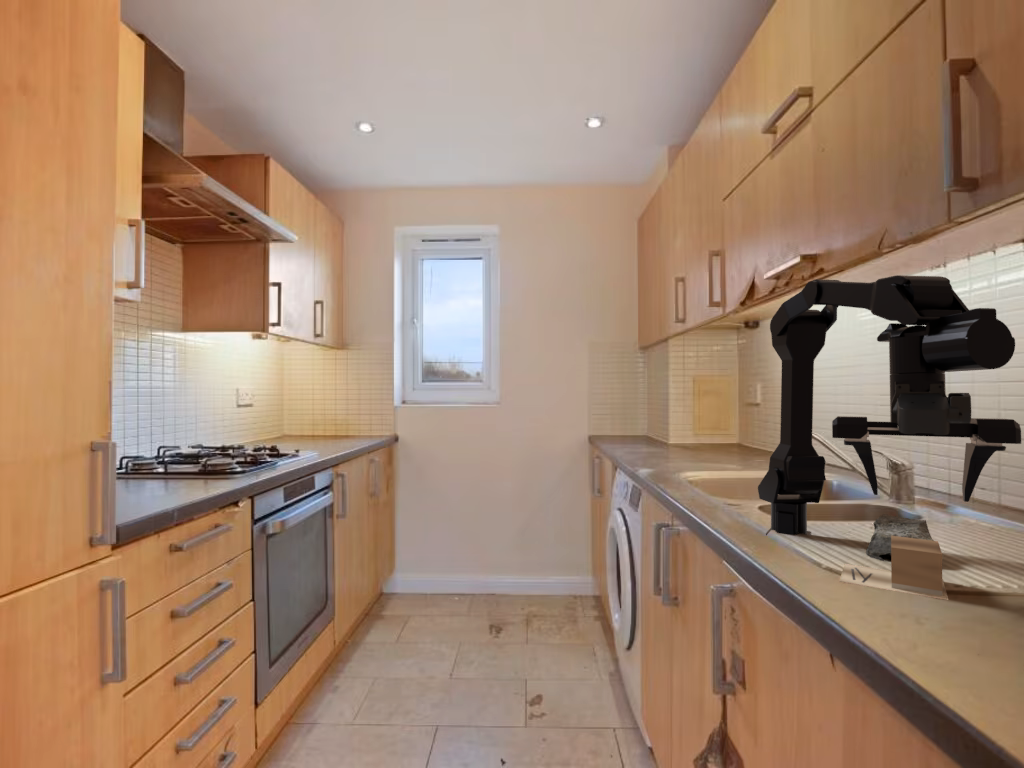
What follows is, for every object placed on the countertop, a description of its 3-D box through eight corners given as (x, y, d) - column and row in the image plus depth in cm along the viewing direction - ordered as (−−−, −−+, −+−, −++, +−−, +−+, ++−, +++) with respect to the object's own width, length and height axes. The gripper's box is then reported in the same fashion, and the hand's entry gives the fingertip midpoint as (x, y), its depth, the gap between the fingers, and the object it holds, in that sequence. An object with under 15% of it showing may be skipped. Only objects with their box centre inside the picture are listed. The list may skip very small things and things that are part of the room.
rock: (943, 578, 76) (941, 530, 76) (868, 570, 80) (867, 524, 80) (924, 554, 88) (923, 513, 88) (860, 548, 92) (859, 508, 92)
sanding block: (891, 572, 75) (891, 535, 75) (938, 580, 72) (937, 541, 72) (891, 587, 69) (891, 547, 69) (942, 596, 66) (942, 554, 66)
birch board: (844, 572, 79) (844, 563, 79) (942, 587, 73) (942, 578, 73) (839, 590, 71) (839, 581, 71) (948, 610, 65) (948, 599, 65)
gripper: (830, 372, 69) (832, 500, 68) (1033, 368, 59) (1037, 517, 58) (832, 376, 78) (834, 488, 78) (1007, 373, 68) (1010, 501, 68)
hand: (919, 497), depth 70 cm, fingers open, 9 cm apart
